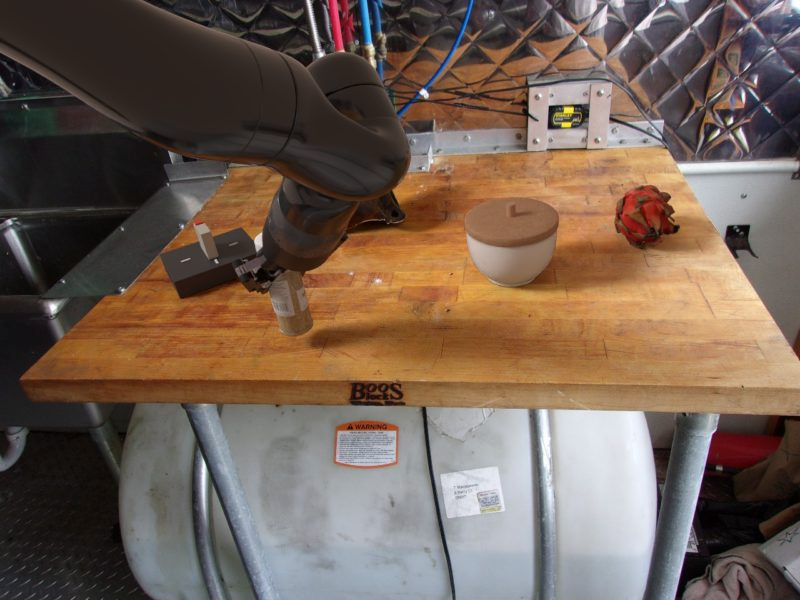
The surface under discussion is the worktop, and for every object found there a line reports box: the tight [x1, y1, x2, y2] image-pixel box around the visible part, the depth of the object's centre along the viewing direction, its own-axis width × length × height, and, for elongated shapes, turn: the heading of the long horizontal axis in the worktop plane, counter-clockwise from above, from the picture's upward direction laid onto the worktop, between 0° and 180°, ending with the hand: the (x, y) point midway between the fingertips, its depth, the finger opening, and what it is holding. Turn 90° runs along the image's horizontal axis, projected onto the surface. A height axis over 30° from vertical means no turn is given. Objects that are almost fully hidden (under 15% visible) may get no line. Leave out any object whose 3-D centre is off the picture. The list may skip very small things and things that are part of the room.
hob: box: [159, 226, 257, 299], centre depth 94 cm, size 14×11×3 cm
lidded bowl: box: [464, 196, 560, 288], centre depth 81 cm, size 13×13×11 cm
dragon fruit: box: [613, 184, 681, 250], centre depth 87 cm, size 8×8×12 cm
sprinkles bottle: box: [253, 232, 314, 338], centre depth 72 cm, size 5×5×13 cm
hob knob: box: [192, 219, 219, 260], centre depth 92 cm, size 5×2×5 cm, turn 30°
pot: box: [346, 190, 408, 231], centre depth 102 cm, size 17×11×18 cm
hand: (278, 278), depth 73 cm, fingers closed on sprinkles bottle, 4 cm apart
